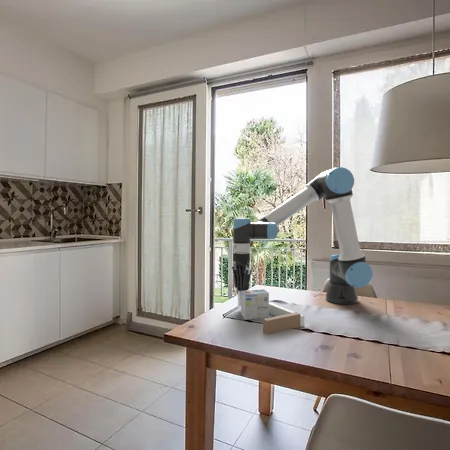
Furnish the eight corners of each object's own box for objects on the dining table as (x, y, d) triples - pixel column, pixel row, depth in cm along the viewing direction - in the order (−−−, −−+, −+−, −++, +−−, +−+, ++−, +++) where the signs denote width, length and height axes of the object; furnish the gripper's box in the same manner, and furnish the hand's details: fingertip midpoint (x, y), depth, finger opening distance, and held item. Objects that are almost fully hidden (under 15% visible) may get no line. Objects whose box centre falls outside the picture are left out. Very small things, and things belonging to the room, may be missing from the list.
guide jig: (266, 309, 148) (266, 298, 148) (304, 325, 127) (304, 313, 127) (232, 316, 139) (232, 304, 139) (266, 334, 118) (267, 320, 118)
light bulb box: (263, 313, 143) (263, 288, 143) (269, 318, 136) (269, 292, 136) (240, 315, 140) (240, 290, 140) (244, 320, 134) (245, 293, 133)
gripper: (227, 251, 150) (226, 302, 151) (242, 254, 139) (242, 309, 140) (240, 250, 154) (240, 300, 155) (257, 253, 143) (256, 307, 144)
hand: (241, 304), depth 147 cm, fingers closed
